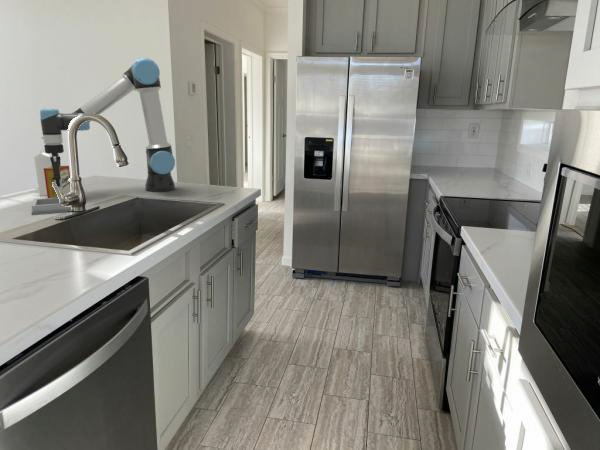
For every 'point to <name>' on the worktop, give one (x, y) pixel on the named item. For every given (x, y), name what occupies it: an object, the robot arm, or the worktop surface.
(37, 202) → the dock
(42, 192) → the long grey-white prism
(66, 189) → the baking soda box
